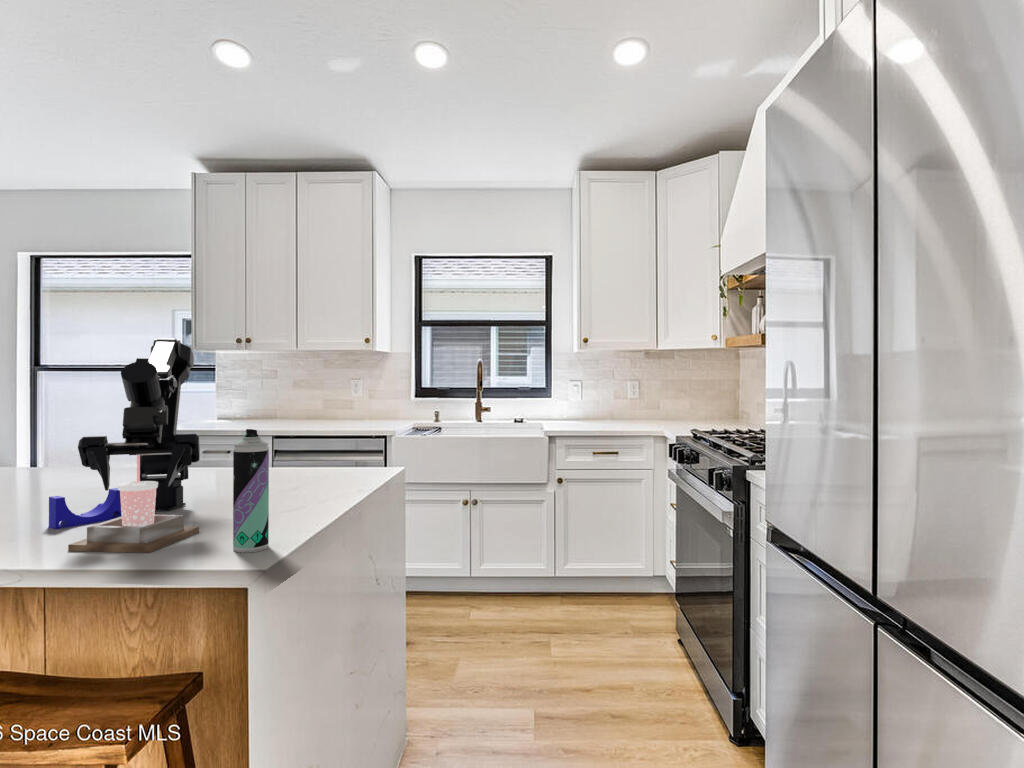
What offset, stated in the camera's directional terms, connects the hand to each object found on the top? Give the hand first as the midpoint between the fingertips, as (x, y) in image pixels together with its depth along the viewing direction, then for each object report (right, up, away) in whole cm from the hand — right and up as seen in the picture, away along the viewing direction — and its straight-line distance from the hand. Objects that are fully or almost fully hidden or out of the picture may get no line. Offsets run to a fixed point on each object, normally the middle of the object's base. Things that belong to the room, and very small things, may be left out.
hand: (137, 487), depth 108 cm
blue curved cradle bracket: (-19, -10, +15) cm, 26 cm away
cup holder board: (0, -9, 0) cm, 9 cm away
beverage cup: (0, -9, +1) cm, 9 cm away
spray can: (+22, -10, -4) cm, 24 cm away
